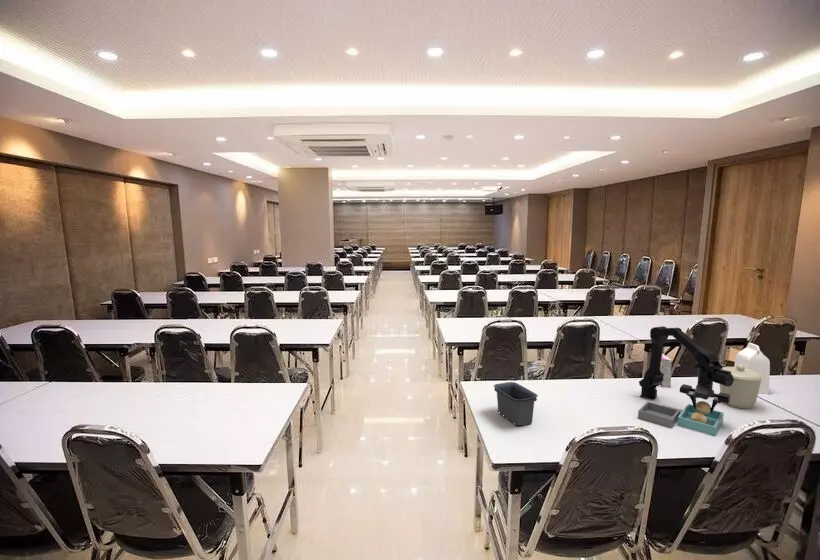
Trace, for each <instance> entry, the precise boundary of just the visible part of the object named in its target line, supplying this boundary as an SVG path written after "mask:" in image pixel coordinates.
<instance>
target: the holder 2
mask: <svg viewBox="0 0 820 560" xmlns="http://www.w3.org/2000/svg"><path fill="white" fill-rule="evenodd" d="M682 410H683V411H682V412H681V414H680V415H679V416H678V421H677V422H676V424H677V426H679V427H682V428H685V427H686V429H689V430H693V431H696V432H699V433H703V434H707V435H710V436H714V437H716V435H717V434H718V431H719V429H720V427H721V425H722V424H723V421H724V413H725V412H723V411H718V410H716V409H714V410H713V411H712V413H711V412H710V413H709V414H704V415H705V417H706V418H707V423H706V424H704V423H700V422H697V421H693V420H691V415H692V414H693V413H696V412H698V411H697V410H696V409H694V406H693V404H690V403H688V404H686V406H685V407H684V409H682Z"/></svg>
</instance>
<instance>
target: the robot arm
mask: <svg viewBox="0 0 820 560" xmlns="http://www.w3.org/2000/svg"><path fill="white" fill-rule="evenodd" d="M649 337H650V340H651V342H652V344H651V352H650V359H649V360H650V361H649V367H648V369H647V370H646V371H645V372H644V373H645V374H644V376H643V378H642V379H640V380H639V381H638V384H639V387H641V390H640V391H641V392H640V395H639V396H640V398H643V399H648V400H652V401H654V400H655V399H657V397H658V389H657V387H659V386H660V385H659V384H660V383H662V381H663V377H664V374H663V373H661V371H660V365H661V358H662V354H663V351H664V345H665V343H666V342H667V340H668V338H669V337H673V338H674V339H675V340H676V341H678V342H679V343H680V344H681V345H682V346H683V347H684V348H685V349H687V350H688V351H689V352H690V353H691V354H692V356H693V359H694V360H695V361H696V362H697V363H696V364H694V365H693V367H694V368H696V369H698V372H697V373H698V374H697V385H696V386H695V388H693V385H690V384H684V383H682V384H681V386H680V387H679V393H681V394H686V396H687V397H689V399H690V400H691V403H692V405H693V406H694V409H696V407H695V406H696V404H697V399H703V400H704V401H705V400H708V399H709V398H711V399H713V400H712V403H711V413H712V411H713V410H715V409H716V408H715V407H716V405H718V404H721V403H723V404H726V403H729V401H730V395H729V394H726V393H721V392H720V391H719V393H715V390H714V389H713V385H714V383H716V384H718V385H720V384H721V385H724V386H727V387H730V386H731V385H732V384H733V382H734V378H733V375H732V374H731V371H726V370H723V366H722V364H721V362H720V361H719V359H718V356H717V355H716V354H715V353H714V352H712V351H711V350H710V349H707V348H704V347H702V346H701V345H699V344H698V343H697V342H696V341H694V340H693V339H692V338H691V337H690V336H689V335H687V334H686V333H685V332H684V331H683V330H682V329H681V328H680V327H666V326H663V325H662V326H655V327H652V328H650V331H649Z"/></svg>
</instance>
